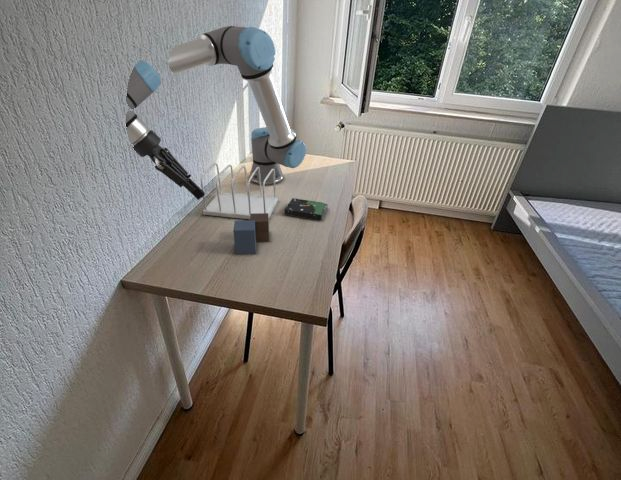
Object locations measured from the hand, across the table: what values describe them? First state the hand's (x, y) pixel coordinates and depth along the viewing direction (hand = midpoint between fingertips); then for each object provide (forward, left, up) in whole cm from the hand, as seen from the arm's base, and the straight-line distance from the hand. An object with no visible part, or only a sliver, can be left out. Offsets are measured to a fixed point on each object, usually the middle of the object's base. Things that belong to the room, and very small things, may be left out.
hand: (201, 196), depth 110 cm
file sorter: (-21, +10, -16) cm, 29 cm away
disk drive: (-17, +35, -16) cm, 43 cm away
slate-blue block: (+7, +13, -16) cm, 22 cm away
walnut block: (0, +18, -16) cm, 24 cm away
